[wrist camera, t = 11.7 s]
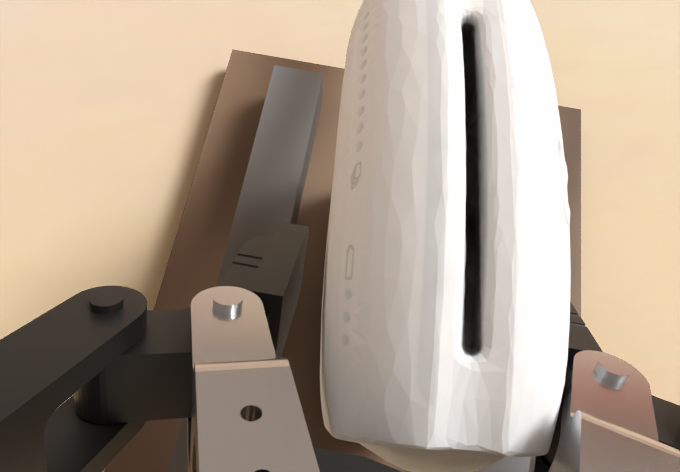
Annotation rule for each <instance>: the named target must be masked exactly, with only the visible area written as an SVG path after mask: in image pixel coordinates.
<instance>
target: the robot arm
mask: <svg viewBox="0 0 680 472" xmlns="http://www.w3.org/2000/svg"><path fill="white" fill-rule="evenodd" d="M308 233H309V227H308V226H302V225H297V224H291V223H285V222H280V224H279V226H278V228H277V230H276V232H275V234H274V236H273V238H272V239H270V238H264V237H258V236H257V237H255V238H253V239H251V240H249V241H248V242H246V243H244V244H243V246H242V247H241V249H240V251H239V252H238V255H237V256H236V257H235V259H234V261H233V264H231V265H230V267H229V269H228V270H227V272H226V274H225V275H224V277H223V279H222V280H221V282H220V283H219V285H218V287H212V288H209V289H206V290H203V291H201V292H200V293H198V294H197V295H196V296H195V297H194V298H193V299H192V302H191V308H187V309H181V310H159V311H147V301H146V298H145V297H144V296H143V295H142V294H141V293H140V292H138V291H136V290H134V289H131V288H127V287H122V286H102V287H96V288H91V289H88V290H85V291H82V292H80V293H78V294H76V295H74V296H73V297H71V298H69V299H68V300H66V301H64V302H63V303H61V304H59V305H58V306H56V307H54V308H53V309H51V310H49V311H48V312H46V313H44V314H43V315H41V316H39V317H38V318H36V319H34V320H33V321H31V322H29V323H28V324H26V325H24V326H23V327H21V328H19V329H18V330H16V331H14V332H13V333H11V334H9V335H8V336H6V337H4V338H3V339H1V340H0V472H101V471H102V470H103V469H104V468H105V467H106V466H107V465H108V464H109V463H110V462H111V461H112V460H113V459H114V457H115V456H116V455H117V454H118V453H119V452H120V451H121V450H122V449H123V448H124V447H125V446H126V445H127V444H128V443H129V441H130V440H131V439H132V438H133V437H134V436H135V435H136V434H137V433H138V432H139V431H140V430H141V428H142V427H143V426H144V424H145V422H146V421H152V420H164V419H177V418H187V454H188V472H401V471H399V470H396V469H394V468H392V467H389V466H387V465H384V464H382V463H379V462H377V461H374V460H372V459H369V458H367V457H363V456H358V455H352V454H347V453H341V452H336V451H330V450H325V449H319V448H314V447H313V446H312V442H311V439H310V435H309V431H308V428H307V424H306V421H305V417H304V414H303V410H302V407H301V403H300V400H299V396H298V393H297V389H296V385H295V382H294V378H293V375H292V371H291V368H290V364H289V362H288V360H287V358H285V357H282V358H281V356H282V353H283V349H284V346H285V343H286V339H287V336H288V333H289V329H290V326H291V323H292V319H293V316H294V313H295V309H296V306H297V303H298V299H299V294H300V289H301V283H302V276H303V269H304V262H305V255H306V248H307V241H308ZM73 394H74V395H73ZM72 395H73V396H72ZM71 396H72V397H71ZM69 397H71V398H70V399H68V398H69ZM67 399H68V400H67ZM66 400H67V401H66ZM64 401H66V402H65V403H64V404H62V403H63V402H64ZM61 404H62V405H61ZM60 405H61V406H60ZM59 406H60V407H59ZM58 407H59V408H58ZM57 408H58V409H57ZM529 472H680V406H679V405H676V404H673V403H671V402H668V401H665V400H663V399H660V398H657V397H655V396H652V395H651V391H650V386H649V383H648V381H647V380H646V378H645V377H644V376H643V375H642V374H641V373H640V372H639V371H638V370H637V369H636V368H634V367H633V366H631V365H630V364H629V363H627V362H625V361H623V360H621V359H619V358H617V357H615V356H613V355H610V354H607V353H604V352H602V350H601V348H600V347H599V345H598V344H597V342H596V341H595V339H594V337H593V336H592V334H591V333H590V331H589V330H588V328H587V327H585V323H584V322H583V320H582V319H581V317H580V316H578V312H577V311H576V309H575V308H574V306H573V305H572V303H571V301H570V326H569V342H568V360H567V367H566V376H565V385H564V390H563V394H562V399H561V404H560V409H559V414H558V419H557V423H556V426H555V430H554V434H553V438H552V442H551V446H550V449H549V451H548V453H547V454H545V455H542V456H532V457H531V460H530V466H529Z"/></svg>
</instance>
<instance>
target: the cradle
mask: <svg viewBox="0 0 680 472" xmlns="http://www.w3.org/2000/svg"><path fill="white" fill-rule="evenodd" d="M343 77H344V69H342V68H336V67H331V66H325V65H319V64H313V63H308V62H302V61H296V60H290V59H284V58H279V57H273V56H267V55H261V54H255V53H250V52H244V51H238V50H232V53H231V57H230V60H229V63H228V67H227V70H226V73H225V76H224V80H223V83H222V86H221V90H220V93H219V96H218V100H217V103H216V106H215V109H214V113H213V116H212V119H211V123H210V126H209V129H208V133H207V136H206V139H205V142H204V146H203V149H202V152H201V156H200V159H199V162H198V166H197V169H196V172H195V175H194V179H193V182H192V185H191V189H190V192H189V195H188V199H187V202H186V205H185V208H184V212H183V215H182V218H181V222H180V225H179V228H178V232H177V235H176V238H175V241H174V245H173V248H172V251H171V255H170V258H169V261H168V265H167V268H166V271H165V275H164V278H163V281H162V284H161V288H160V291H159V294H158V298H157V301H156V304H155V308H154V311H159V310H181V309H187V308H191V302H192V299H193V298H194V297H195V296H196V295H197V294H198V293H200V292H201V291H203V290H206V289H209V288H212V287H218V285H219V283H220V282H221V280H222V279H223V277H224V275H225V274H226V272H227V270H228V269H229V267H230V265H231V264H233V261H234V259H235V257H236V256H237V255H238V252H239V251H240V249H241V247H242V246H243V244H244V243H246V242H248V241H249V240H251V239H253V238H255V237H257V236H258V237H264V238H270V239H272V238H273V236H274V234H275V232H276V230H277V228H278V226H279V224H280V222H285V223H291V224H297V225H302V226H308V227H309V233H308V241H307V248H306V255H305V262H304V269H303V276H302V283H301V289H300V294H299V299H298V303H297V306H296V309H295V313H294V316H293V319H292V323H291V326H290V329H289V333H288V336H287V339H286V343H285V346H284V349H283V353H282V356H281V358H282V357H285V358H287V360H288V362H289V364H290V368H291V371H292V375H293V378H294V382H295V385H296V389H297V393H298V396H299V400H300V403H301V407H302V410H303V414H304V417H305V421H306V424H307V428H308V431H309V435H310V439H311V442H312V446H313V447H314V448H319V449H325V450H330V451H336V452H341V453H347V454H352V455H358V456H363V457H367V458H369V459H372V460H374V461H377V462H379V463H382V464H384V465H387V466H389V467H392V468H394V469H396V470H399V471H401V472H410V471H407V470H403V469H401V468H399V467H397V466H395V465H393V464H391V463H389V462H387V461H385V460H383V459H382V458H381V457H379V456H378V455H376V454H375V453H373V452H372V451H370V450H369V449H367V448H365V447H364V446H362V445H361V444H359V443H356V442H350V441H345V440H340V439H336V438H334V437H333V436H332V435H331V434H330V433H329V432H328V430H327V429H326V428H325V426H324V421H323V416H322V407H321V396H320V344H321V315H322V297H323V282H324V268H325V255H326V243H327V233H328V223H329V213H330V204H331V193H332V185H333V175H334V164H335V153H336V142H337V131H338V121H339V111H340V102H341V93H342V84H343ZM558 110H559V116H560V124H561V131H562V139H563V149H564V157H565V162H566V165H567V172H568V183H567V193H568V204H569V208H570V265H571V286H570V301H571V303H572V305H573V306H574V308H575V309H576V311H577V312H578V316H580V317H581V110H580V109H574V108H568V107H562V106H558ZM530 460H531V457H511V456H506V457H504V458H503V459H501V460H500V461H498V462H496V463H494V464H492V465H490V466H488V467H486V468H484V469H481V470H478V471H475V472H529V466H530ZM105 472H188V454H187V418H177V419H164V420H152V421H146V422H145V424H144V426H143V427H142V428H141V430H140V431H139V432H138V433H137V434H136V435H135V436H134V437H133V438H132V439H131V440H130V441H129V443H128V444H127V445H126V446H125V447H124V448H123V449H122V450H121V451H120V452H119V453H118V454H117V455H116V456H115V457H114V459H113V460H112V461H111V462H110V463H109V464H108V465H107V466H106V469H105Z"/></svg>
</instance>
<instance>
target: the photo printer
mask: <svg viewBox="0 0 680 472" xmlns="http://www.w3.org/2000/svg"><path fill="white" fill-rule="evenodd" d="M567 183H568V172H567V165H566V162H565V157H564V149H563V139H562V131H561V124H560V116H559V110H558V103H557V97H556V90H555V85H554V80H553V75H552V70H551V65H550V60H549V57H548V53H547V49H546V46H545V42H544V38H543V34H542V31H541V28H540V25H539V22H538V19H537V16H536V14H535V12H534V9H533V7H532V5H531V3H530V1H529V0H364V1H363V3H362V5H361V7H360V9H359V12H358V14H357V17H356V20H355V23H354V25H353V28H352V31H351V35H350V39H349V44H348V49H347V55H346V62H345V69H344V77H343V84H342V93H341V102H340V111H339V121H338V131H337V142H336V153H335V164H334V175H333V185H332V193H331V204H330V213H329V223H328V233H327V243H326V255H325V268H324V282H323V297H322V315H321V344H320V396H321V407H322V416H323V421H324V426H325V428H326V429H327V430H328V432H329V433H330V434H331V435H332V436H333V437H334V438H336V439H340V440H345V441H350V442H356V443H359V444H361V445H362V446H364V447H365V448H367V449H369V450H370V451H372V452H373V453H375V454H376V455H378V456H379V457H381V458H382V459H383V460H385V461H387V462H389V463H391V464H393V465H395V466H397V467H399V468H401V469H403V470H407V471H410V472H475V471H478V470H481V469H484V468H486V467H488V466H490V465H492V464H494V463H496V462H498V461H500V460H501V459H503V458H504V457H506V456H511V457H532V456H542V455H545V454H547V453H548V451H549V449H550V446H551V442H552V438H553V434H554V430H555V426H556V423H557V419H558V414H559V409H560V404H561V399H562V394H563V390H564V385H565V376H566V367H567V360H568V342H569V326H570V286H571V265H570V208H569V204H568V193H567Z"/></svg>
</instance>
